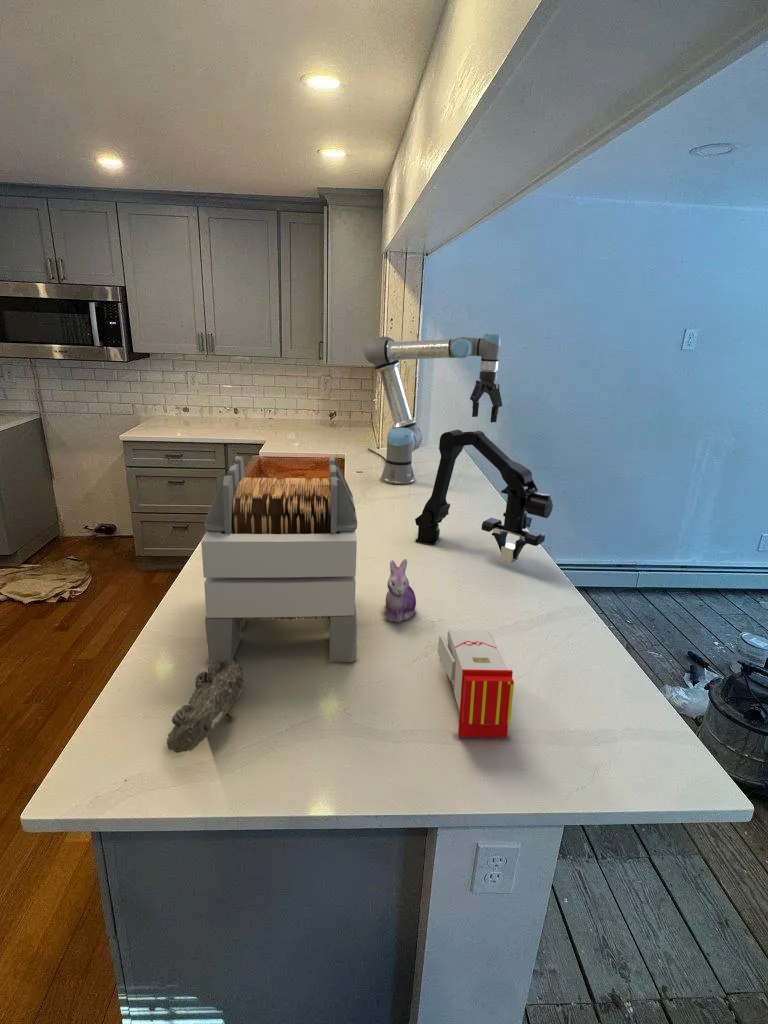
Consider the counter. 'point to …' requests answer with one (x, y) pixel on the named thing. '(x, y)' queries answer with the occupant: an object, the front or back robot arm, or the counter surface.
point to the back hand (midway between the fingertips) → (483, 419)
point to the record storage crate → (280, 557)
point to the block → (508, 553)
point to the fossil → (206, 705)
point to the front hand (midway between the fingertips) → (509, 556)
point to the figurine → (399, 594)
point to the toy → (478, 682)
